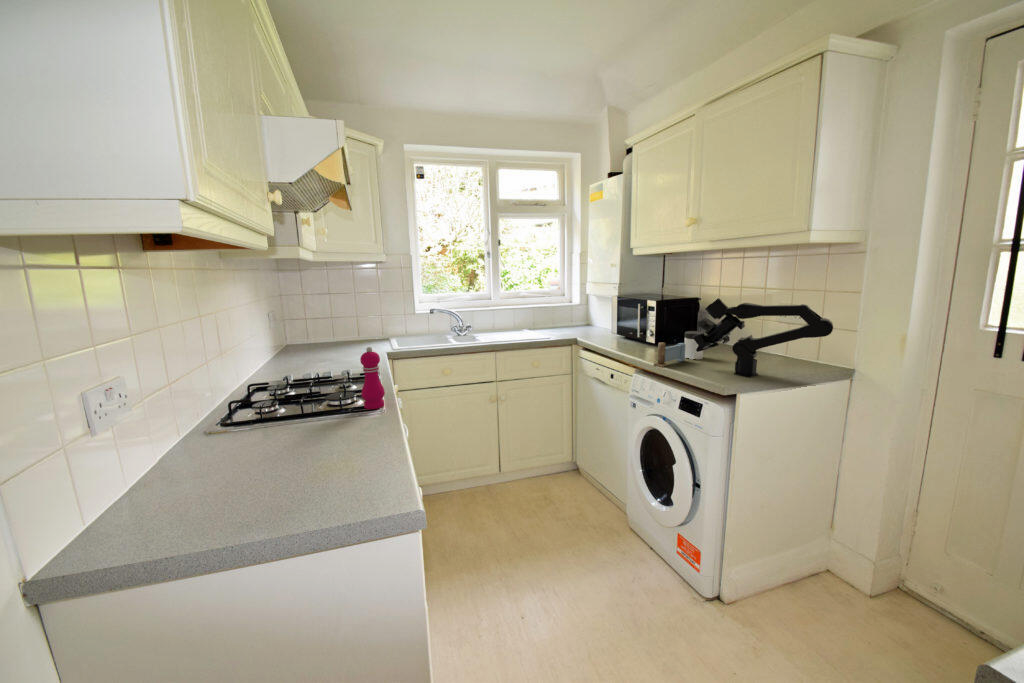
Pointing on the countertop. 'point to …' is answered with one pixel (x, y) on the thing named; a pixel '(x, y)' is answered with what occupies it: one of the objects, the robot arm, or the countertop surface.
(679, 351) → the gate
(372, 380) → the pepper mill
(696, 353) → the jar
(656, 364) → the hinge post
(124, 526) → the countertop surface
